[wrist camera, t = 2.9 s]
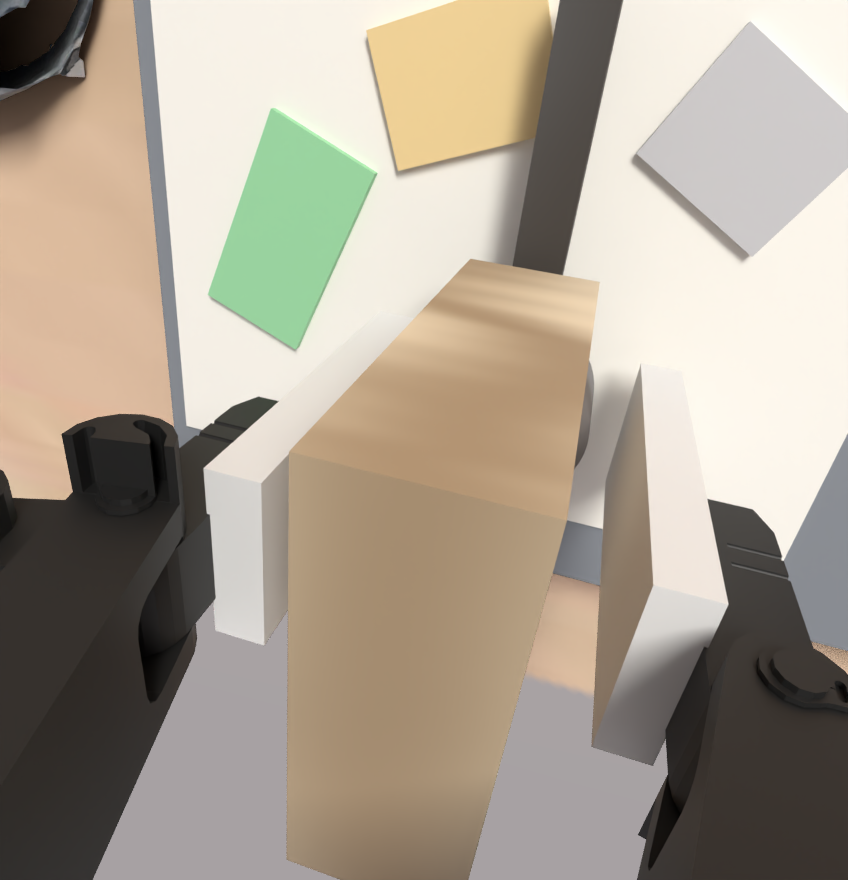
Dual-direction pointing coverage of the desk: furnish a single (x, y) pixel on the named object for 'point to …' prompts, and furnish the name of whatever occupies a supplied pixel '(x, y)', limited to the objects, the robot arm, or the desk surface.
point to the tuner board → (499, 213)
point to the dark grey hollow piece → (49, 52)
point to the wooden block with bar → (442, 526)
